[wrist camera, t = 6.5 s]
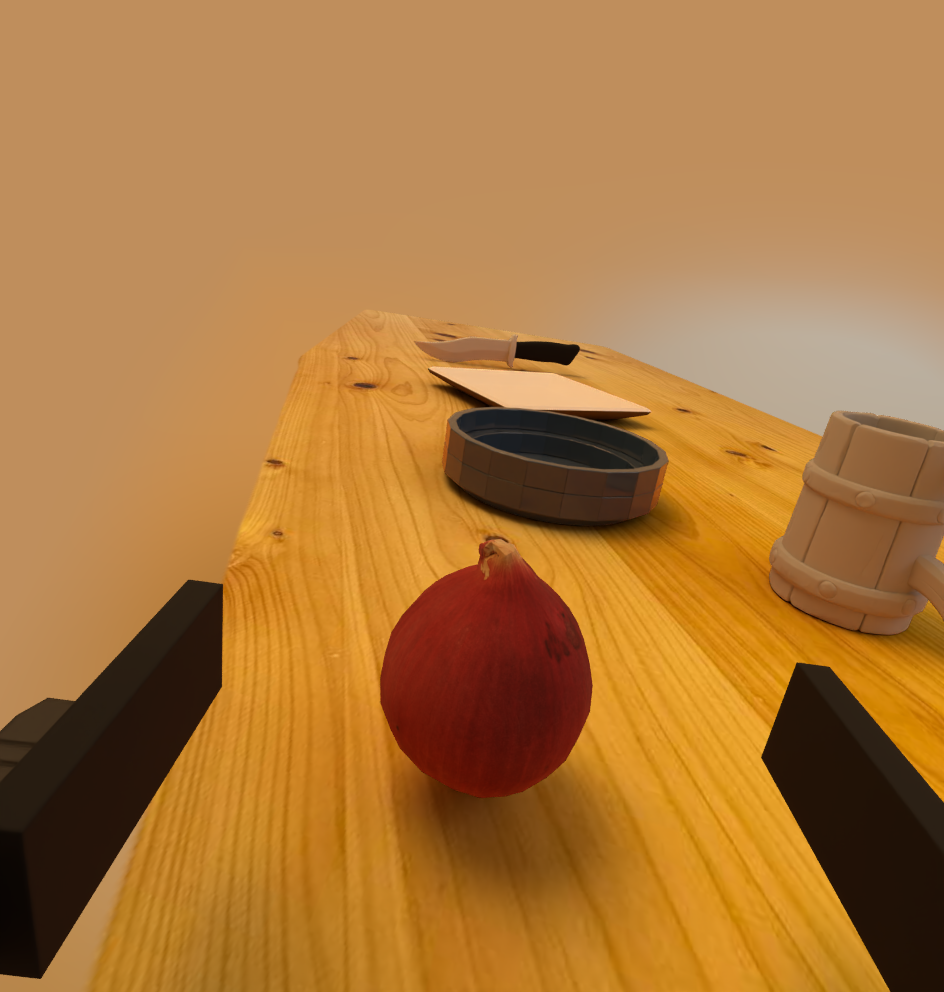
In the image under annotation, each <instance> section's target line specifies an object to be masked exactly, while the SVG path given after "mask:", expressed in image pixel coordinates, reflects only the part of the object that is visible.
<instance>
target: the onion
mask: <svg viewBox="0 0 944 992" xmlns="http://www.w3.org/2000/svg"><path fill="white" fill-rule="evenodd" d="M479 554H480V558H479V562H478V565H473V566H469V567H466V568H464V569H461V570H458V571H456V572H453V573H451V574H448V575H446V576H444V577H443V578H441V579H440V580H438V581H436V582H435V583H434V584H432V585H431V586H430V587H429V588H427V589H426V590H425V591H424V592H423V593H422V594H421V595H420V596H419V597H418V599H417V600H416V601H415V602H414V603H413V604H412V605H411V606H410V607H409V608H408V610H407V611H406V612H405V613H404V614H403V615H402V616H401V618H400V620H399V621H398V623H397V624H396V626H395V628H394V629H393V631H392V632H391V636H390V639H389V642H388V646H387V649H386V652H385V656H384V661H383V667H382V672H381V677H380V690H381V705H382V708H383V711H384V713H385V716H386V719H387V721H388V724H389V726H390V729H391V731H392V733H393V735H394V737H395V739H396V741H397V743H398V745H399V747H400V749H401V750H402V751H403V752H404V753H405V754H406V755H407V756H408V757H409V758H410V759H411V761H412V762H413V763H414V764H415V765H416V766H417V767H418V768H419V769H420V770H421V771H422V772H423V773H425V774H427V775H429V776H430V777H432V778H434V779H436V780H437V781H439V782H441V783H443V784H444V785H446V786H448V787H450V788H451V789H453V790H456V791H459V792H463V793H466V794H469V795H472V796H475V797H478V798H487V797H502V796H508V795H512V794H516V793H520V792H523V791H525V790H526V789H528V788H530V787H531V786H533V785H535V784H537V783H538V782H540V781H542V780H543V779H545V778H547V777H548V776H549V775H550V774H551V773H552V772H553V771H554V770H556V769H557V768H558V767H559V766H560V765H561V764H562V763H563V762H565V761H566V759H567V757H568V755H569V754H570V752H571V750H572V748H573V746H574V745H575V743H576V741H577V739H578V737H579V735H580V733H581V731H582V728H583V726H584V724H585V722H586V719H587V717H588V715H589V712H590V706H591V696H592V686H593V685H592V678H591V671H590V664H589V659H588V655H587V651H586V646H585V642H584V638H583V636H582V633H581V630H580V628H579V625H578V623H577V621H576V619H575V617H574V616H573V614H572V612H571V611H570V609H569V607H568V606H567V605H566V604H565V602H564V601H563V600H562V599H561V598H560V596H559V595H558V594H557V593H556V592H555V591H554V590H553V589H552V588H551V587H550V586H549V585H548V584H547V583H545V582H544V581H543V580H542V579H540V578H539V577H538V576H537V575H536V573H535V572H534V571H533V569H532V568H531V567H530V566H529V565H528V564H527V563H526V561H525V560H524V559H523V558H522V557H521V556H520V554H519V553H518V551H517V549H516V548H515V546H514V544H509V543H506V542H504V541H503V540H501V539H497V540H489V541H487V542H485V543H481V544H480V545H479Z"/></svg>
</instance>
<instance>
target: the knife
mask: <svg viewBox="0 0 944 992" xmlns="http://www.w3.org/2000/svg"><path fill="white" fill-rule="evenodd" d="M517 337H518V335H512V336H511V338H510V339H509V340H502V339H491V338H481V337H465V338H460V339H456V340H451V341H443V342H421V341H414V342H415V344H416V345H417V346H418V347H419V348H420V349H421V350H422V351H424V352H425V353H427V354H428V355H430V356H432V357H435V358H437V359H440V360H444V361H449V362H462V361H470V360H495V361H505V362H507V364H508V366H509V367H513V361H514V358H519V359H526V360H533V361H540V362H554V363H559V364H562V365H569V364H570V363H571V362H572V361H573V359H574V358H575V356H576V355H577V354H578V352H579V350H580V347H579V346H578V345H574V344H572V345H566V344H560V343H553V342H538V341H530V342H517Z"/></svg>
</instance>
